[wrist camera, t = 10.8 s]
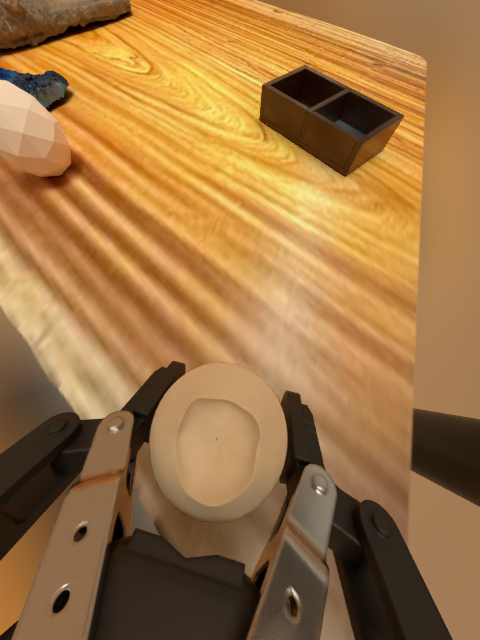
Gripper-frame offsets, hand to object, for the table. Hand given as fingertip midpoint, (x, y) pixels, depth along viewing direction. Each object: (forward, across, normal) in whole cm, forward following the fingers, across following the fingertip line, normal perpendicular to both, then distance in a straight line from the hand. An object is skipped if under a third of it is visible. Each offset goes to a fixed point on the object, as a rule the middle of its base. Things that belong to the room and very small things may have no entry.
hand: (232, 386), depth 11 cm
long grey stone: (+46, +54, -39) cm, 81 cm away
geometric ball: (+18, +30, -11) cm, 37 cm away
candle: (+2, 0, +5) cm, 5 cm away
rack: (+31, -4, -24) cm, 39 cm away
